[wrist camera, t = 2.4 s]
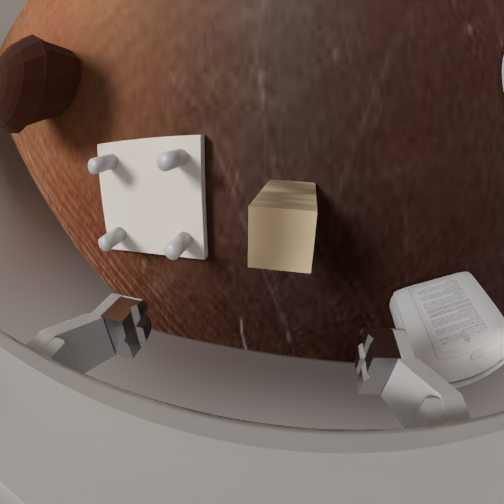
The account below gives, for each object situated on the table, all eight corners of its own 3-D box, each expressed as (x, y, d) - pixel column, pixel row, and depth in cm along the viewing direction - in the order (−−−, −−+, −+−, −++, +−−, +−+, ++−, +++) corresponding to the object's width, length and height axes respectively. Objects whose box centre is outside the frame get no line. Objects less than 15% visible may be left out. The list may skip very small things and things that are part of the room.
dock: (204, 134, 24) (186, 136, 20) (208, 255, 29) (193, 274, 26) (102, 143, 26) (78, 148, 23) (114, 245, 31) (94, 259, 28)
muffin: (100, 87, 23) (30, 86, 15) (49, 144, 27) (-13, 160, 18) (72, 23, 20) (12, 13, 11) (26, 81, 24) (-29, 86, 15)
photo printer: (389, 321, 28) (412, 412, 17) (386, 289, 27) (415, 381, 16) (469, 297, 25) (515, 373, 14) (470, 264, 24) (528, 337, 13)
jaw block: (315, 183, 24) (317, 211, 16) (311, 226, 26) (310, 273, 18) (269, 179, 25) (248, 206, 17) (268, 222, 26) (247, 266, 18)
